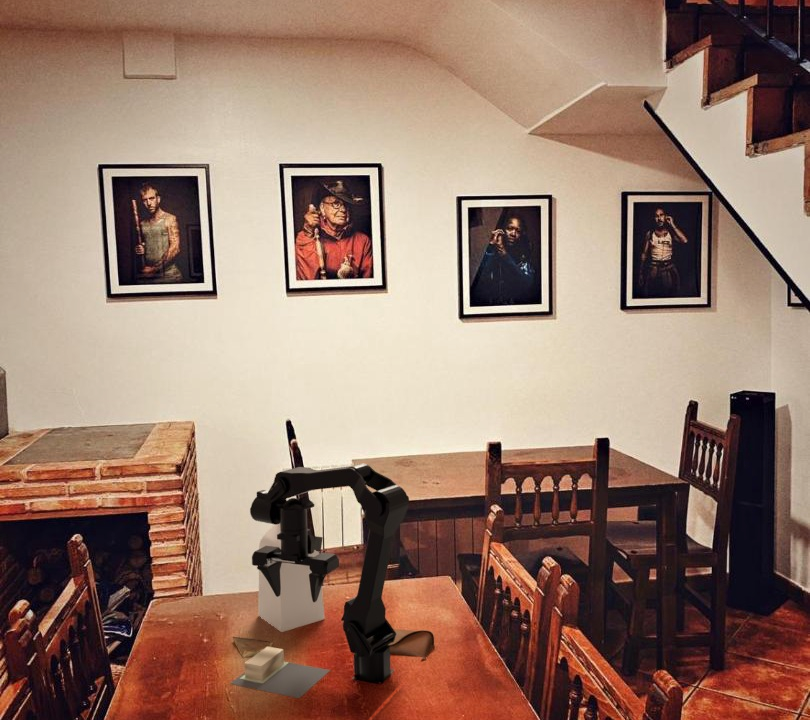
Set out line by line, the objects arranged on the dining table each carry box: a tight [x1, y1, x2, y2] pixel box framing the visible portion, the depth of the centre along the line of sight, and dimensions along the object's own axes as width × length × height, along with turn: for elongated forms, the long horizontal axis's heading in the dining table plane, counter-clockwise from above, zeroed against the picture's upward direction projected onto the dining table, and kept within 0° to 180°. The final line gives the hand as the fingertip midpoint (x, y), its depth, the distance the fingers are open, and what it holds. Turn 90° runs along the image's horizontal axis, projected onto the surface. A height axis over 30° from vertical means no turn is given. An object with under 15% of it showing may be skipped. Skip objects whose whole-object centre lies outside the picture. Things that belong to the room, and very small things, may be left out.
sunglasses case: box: [368, 628, 435, 661], centre depth 166 cm, size 18×7×7 cm
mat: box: [229, 660, 331, 699], centre depth 153 cm, size 16×12×1 cm
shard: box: [232, 636, 274, 659], centre depth 169 cm, size 11×8×2 cm
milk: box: [257, 523, 325, 633], centre depth 184 cm, size 12×12×26 cm
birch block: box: [244, 646, 285, 681], centre depth 156 cm, size 8×4×3 cm, turn 156°
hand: (296, 598), depth 164 cm, fingers open, 9 cm apart
